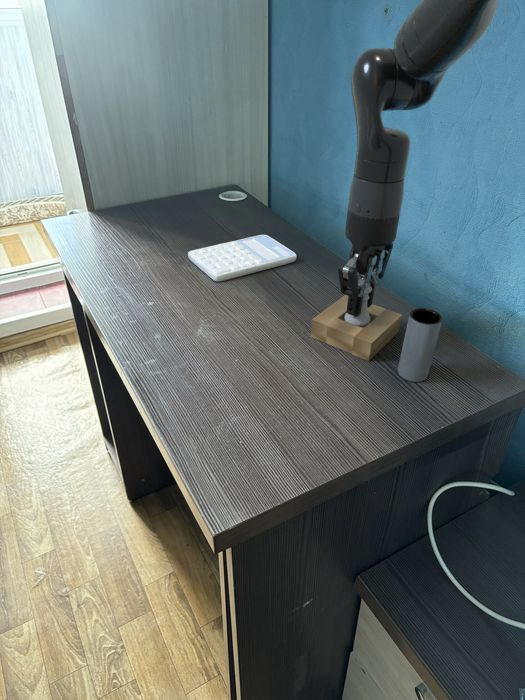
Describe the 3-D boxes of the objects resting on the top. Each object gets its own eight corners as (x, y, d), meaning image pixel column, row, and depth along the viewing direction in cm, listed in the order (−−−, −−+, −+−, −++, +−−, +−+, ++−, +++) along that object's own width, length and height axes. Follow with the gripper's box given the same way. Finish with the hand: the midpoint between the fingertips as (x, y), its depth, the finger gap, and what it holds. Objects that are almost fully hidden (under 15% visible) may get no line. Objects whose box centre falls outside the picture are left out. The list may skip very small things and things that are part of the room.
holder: (398, 332, 89) (402, 314, 87) (368, 361, 81) (371, 343, 79) (343, 311, 94) (345, 294, 92) (310, 336, 87) (312, 319, 85)
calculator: (186, 258, 110) (185, 250, 109) (265, 239, 119) (265, 232, 118) (215, 283, 101) (215, 275, 100) (298, 261, 110) (299, 253, 109)
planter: (398, 380, 78) (410, 322, 72) (396, 362, 81) (408, 306, 75) (429, 384, 77) (444, 325, 71) (426, 366, 81) (440, 309, 75)
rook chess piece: (372, 322, 88) (379, 280, 83) (365, 335, 84) (372, 292, 80) (347, 316, 89) (353, 274, 84) (339, 328, 86) (344, 285, 81)
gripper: (374, 227, 68) (358, 336, 78) (418, 200, 78) (398, 300, 88) (326, 214, 72) (316, 319, 82) (373, 189, 81) (359, 287, 91)
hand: (359, 309), depth 85 cm, fingers closed on rook chess piece, 3 cm apart
